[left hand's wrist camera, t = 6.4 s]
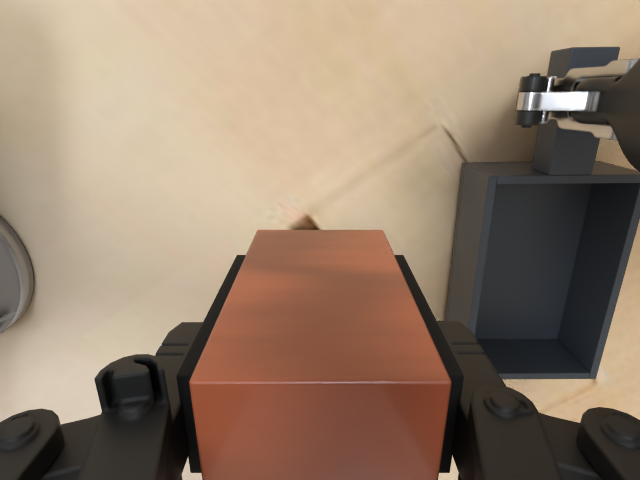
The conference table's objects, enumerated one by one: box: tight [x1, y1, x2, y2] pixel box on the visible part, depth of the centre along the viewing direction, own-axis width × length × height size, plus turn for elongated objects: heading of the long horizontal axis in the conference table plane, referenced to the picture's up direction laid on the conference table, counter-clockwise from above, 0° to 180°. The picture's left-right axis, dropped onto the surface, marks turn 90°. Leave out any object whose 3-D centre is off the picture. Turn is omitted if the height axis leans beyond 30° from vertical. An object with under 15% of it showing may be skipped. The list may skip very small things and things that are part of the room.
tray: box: [445, 47, 640, 379], centre depth 32 cm, size 11×25×6 cm, turn 1°
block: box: [189, 230, 451, 480], centre depth 11 cm, size 4×4×8 cm
